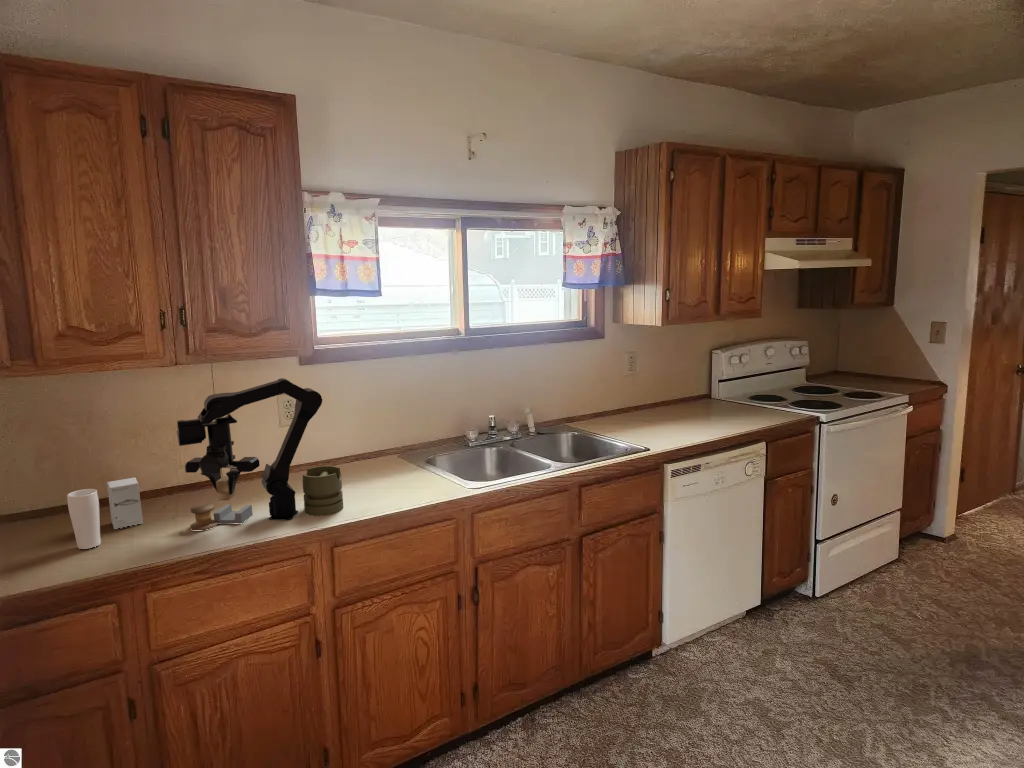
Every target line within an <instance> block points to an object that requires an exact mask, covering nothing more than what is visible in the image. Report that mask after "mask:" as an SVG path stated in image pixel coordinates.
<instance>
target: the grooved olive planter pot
mask: <svg viewBox="0 0 1024 768" xmlns="http://www.w3.org/2000/svg"><path fill="white" fill-rule="evenodd" d="M306 469H307V470H306V474H302V490H303V491H302V492H303V493H304V494H303V506H304V513H305V514H306V515H307V514H308V515H307V516H311V515H313V517H324V516H331V515H335V514H338V513H340V512H341V511H342V510H344V498H343V495H344V494H343V490H342V489H343V485H342V484H343V482H342V481H343V480H342V474H341V467H339V466H336V465H319V466H313V467H309V468H306ZM339 511H340V512H339ZM337 512H338V513H337Z"/></svg>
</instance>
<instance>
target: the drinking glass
mask: <svg viewBox="0 0 1024 768" xmlns="http://www.w3.org/2000/svg"><path fill="white" fill-rule="evenodd" d="M66 499H67V507H68V513H69V517H70V521H71V524H72V525H71V526H72V528H73V532H74V538H75V541H76V547H78V548H79V549H78V548H77V549H78V550H80V549H88V548H92V547H95V548H97V547H96V546H98V545H99V546H100V545H101V543H102V540H101V525H100V524H101V523H100V521H101V520H100V519H101V517H100V501H99V493H98V490H97V489H96V488H84V489H79V490H75V491H72V492H69V493H68V494H67V495H66ZM99 546H98V547H99Z"/></svg>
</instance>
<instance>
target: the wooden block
mask: <svg viewBox="0 0 1024 768" xmlns="http://www.w3.org/2000/svg"><path fill="white" fill-rule="evenodd" d="M216 487H217V491H216V492H217V499H218V501H230V500H231V499H232V498H233V497H235V496H236V495H237V492H236V488H235V489H234V492H233V494H230V492H229V480H228V476H227V475H224V476H221V478H220V479H219V480H218V481H216Z"/></svg>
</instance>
